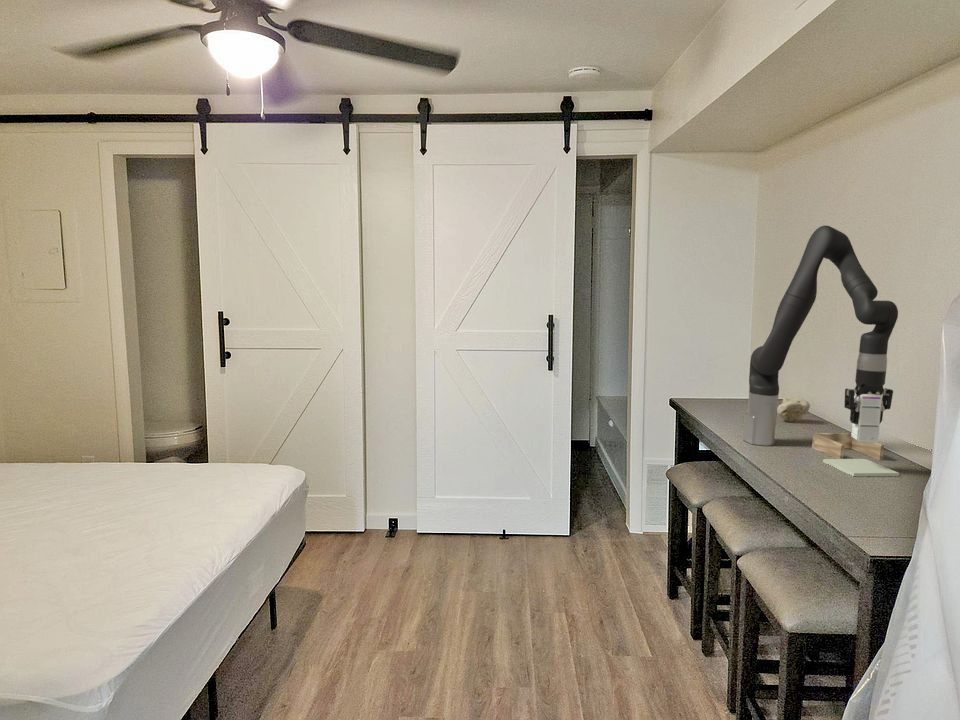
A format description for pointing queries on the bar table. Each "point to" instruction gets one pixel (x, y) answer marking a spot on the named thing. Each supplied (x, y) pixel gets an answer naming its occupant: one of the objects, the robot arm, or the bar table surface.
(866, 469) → the sage mat
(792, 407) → the decorative item
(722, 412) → the bar table surface
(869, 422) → the syrup box
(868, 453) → the u-shaped pine frame
